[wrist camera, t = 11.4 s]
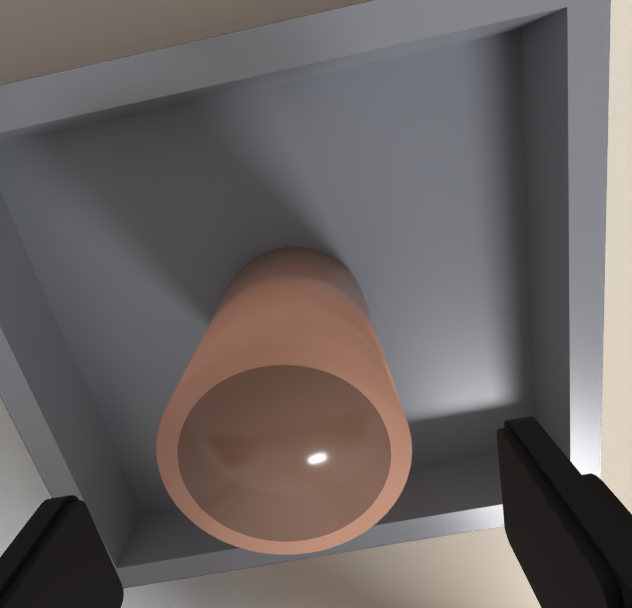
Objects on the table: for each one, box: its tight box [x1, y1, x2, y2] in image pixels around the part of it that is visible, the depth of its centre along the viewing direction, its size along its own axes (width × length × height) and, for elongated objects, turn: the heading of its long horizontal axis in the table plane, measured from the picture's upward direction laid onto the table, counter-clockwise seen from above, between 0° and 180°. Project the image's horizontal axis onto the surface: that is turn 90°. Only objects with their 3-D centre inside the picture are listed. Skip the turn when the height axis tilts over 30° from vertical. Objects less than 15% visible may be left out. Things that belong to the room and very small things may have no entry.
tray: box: [0, 0, 611, 588], centre depth 18 cm, size 20×22×4 cm
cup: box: [156, 247, 412, 555], centre depth 15 cm, size 6×6×9 cm
